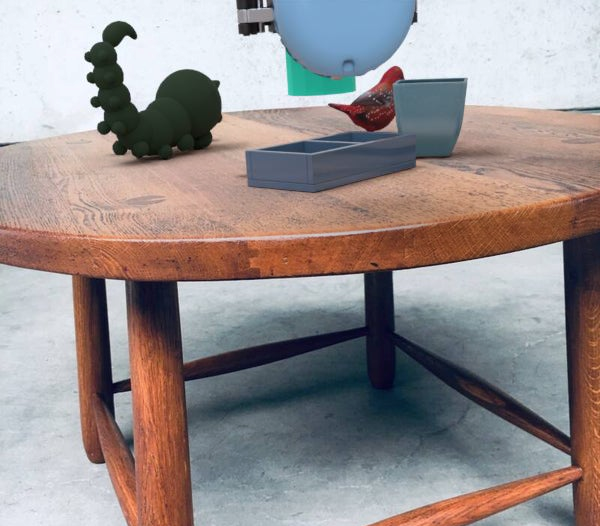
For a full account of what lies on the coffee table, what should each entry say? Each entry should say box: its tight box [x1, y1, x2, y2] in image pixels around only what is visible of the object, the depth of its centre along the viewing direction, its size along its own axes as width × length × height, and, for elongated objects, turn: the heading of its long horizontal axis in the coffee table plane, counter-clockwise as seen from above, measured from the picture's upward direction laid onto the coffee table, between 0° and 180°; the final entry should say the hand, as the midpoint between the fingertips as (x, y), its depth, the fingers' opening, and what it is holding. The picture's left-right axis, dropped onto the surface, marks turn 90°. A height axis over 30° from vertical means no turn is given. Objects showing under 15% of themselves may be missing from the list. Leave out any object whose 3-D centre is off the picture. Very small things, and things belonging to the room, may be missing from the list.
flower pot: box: [393, 77, 469, 158], centre depth 112 cm, size 9×9×9 cm
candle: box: [284, 47, 357, 97], centre depth 77 cm, size 6×6×12 cm
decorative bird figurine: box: [327, 65, 406, 132], centre depth 126 cm, size 3×18×10 cm, turn 139°
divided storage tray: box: [244, 130, 417, 193], centre depth 101 cm, size 10×18×4 cm, turn 139°
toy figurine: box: [83, 20, 223, 160], centre depth 124 cm, size 9×19×25 cm
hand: (319, 13), depth 82 cm, fingers closed on candle, 5 cm apart
